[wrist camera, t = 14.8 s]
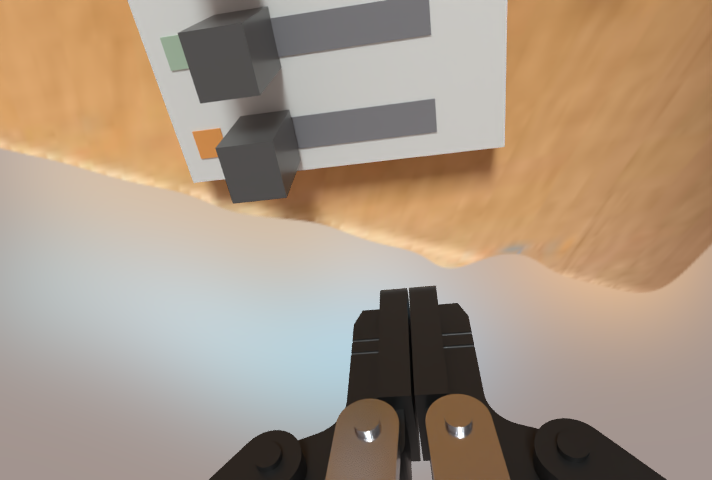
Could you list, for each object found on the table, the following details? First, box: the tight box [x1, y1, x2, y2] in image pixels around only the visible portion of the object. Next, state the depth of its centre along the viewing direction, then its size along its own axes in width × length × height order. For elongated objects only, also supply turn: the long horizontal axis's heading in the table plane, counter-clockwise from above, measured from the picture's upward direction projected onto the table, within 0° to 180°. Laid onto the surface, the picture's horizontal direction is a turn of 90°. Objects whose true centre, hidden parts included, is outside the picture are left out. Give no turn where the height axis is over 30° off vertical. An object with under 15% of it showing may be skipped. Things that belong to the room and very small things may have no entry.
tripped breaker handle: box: [215, 110, 301, 203], centre depth 27 cm, size 3×3×5 cm
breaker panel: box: [128, 0, 507, 183], centre depth 25 cm, size 20×16×8 cm
